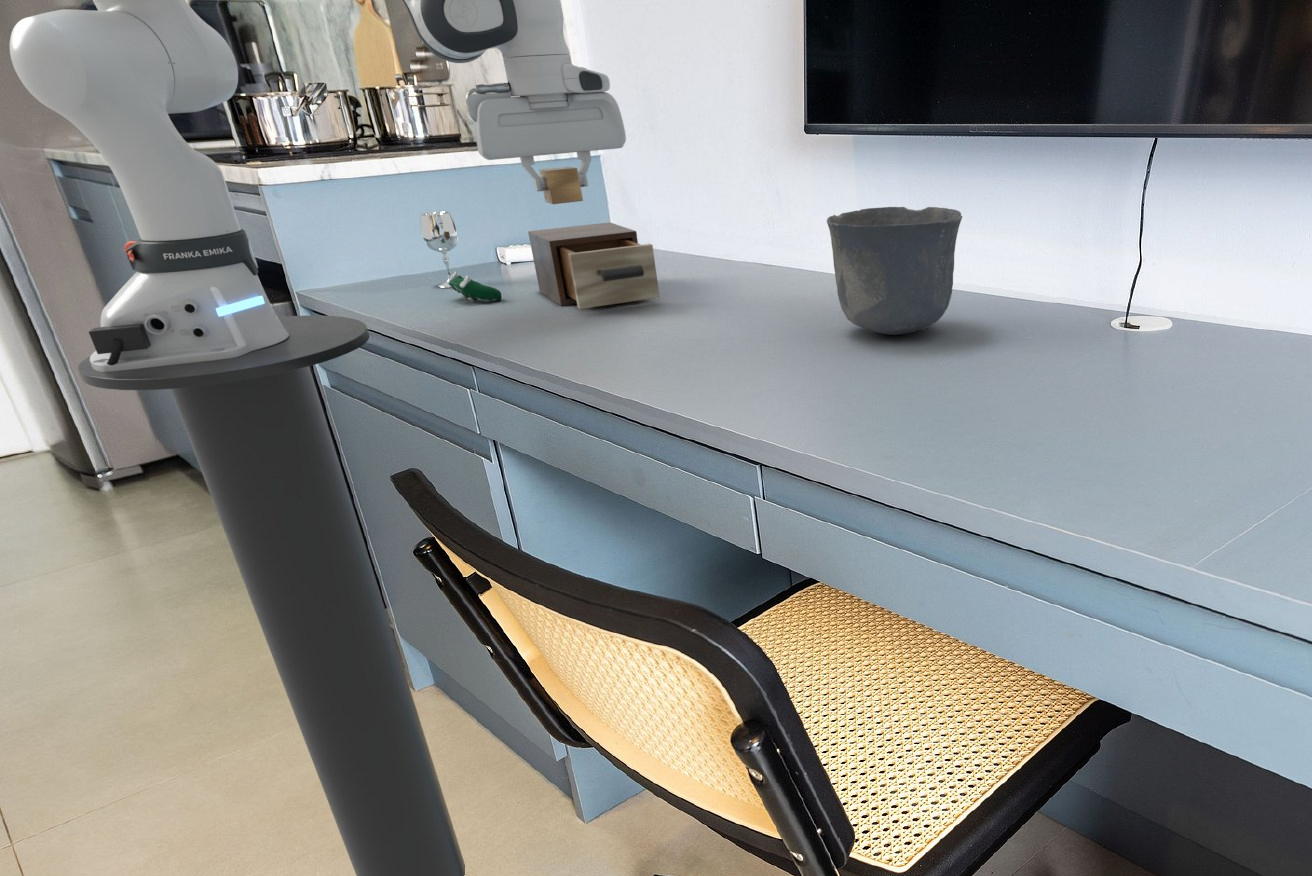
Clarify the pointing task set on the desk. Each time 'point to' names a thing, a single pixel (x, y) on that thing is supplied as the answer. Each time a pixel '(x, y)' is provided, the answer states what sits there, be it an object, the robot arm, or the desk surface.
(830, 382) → the desk surface
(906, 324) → the cup
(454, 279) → the green elongated toy
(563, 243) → the cabinet
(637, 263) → the drawer
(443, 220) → the wineglass
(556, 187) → the block
